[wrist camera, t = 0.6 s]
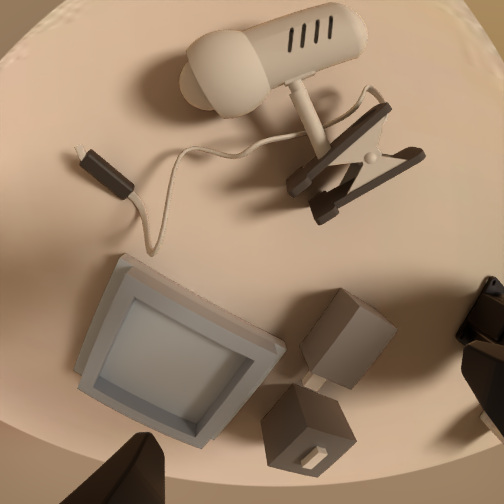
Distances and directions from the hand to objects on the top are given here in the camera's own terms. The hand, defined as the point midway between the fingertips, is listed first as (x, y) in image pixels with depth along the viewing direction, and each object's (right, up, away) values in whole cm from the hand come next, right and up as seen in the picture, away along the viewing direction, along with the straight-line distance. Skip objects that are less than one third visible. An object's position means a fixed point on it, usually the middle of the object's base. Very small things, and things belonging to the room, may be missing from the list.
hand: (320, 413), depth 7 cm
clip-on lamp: (-2, +11, +11) cm, 16 cm away
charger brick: (+2, -9, +16) cm, 18 cm away
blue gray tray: (-7, -3, +14) cm, 16 cm away
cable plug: (+4, -1, +14) cm, 15 cm away
